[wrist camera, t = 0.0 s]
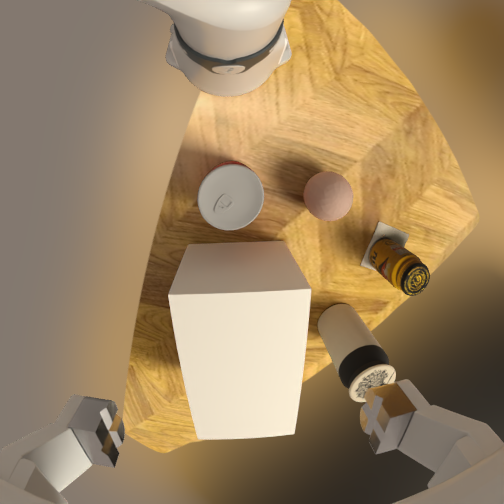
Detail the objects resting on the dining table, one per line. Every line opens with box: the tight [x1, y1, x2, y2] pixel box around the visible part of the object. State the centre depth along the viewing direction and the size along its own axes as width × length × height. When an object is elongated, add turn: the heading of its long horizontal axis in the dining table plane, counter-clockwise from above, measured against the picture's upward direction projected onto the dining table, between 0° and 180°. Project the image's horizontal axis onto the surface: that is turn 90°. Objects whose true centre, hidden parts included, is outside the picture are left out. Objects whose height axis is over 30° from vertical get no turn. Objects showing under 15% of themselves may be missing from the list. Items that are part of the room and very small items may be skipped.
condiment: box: [360, 222, 430, 296], centre depth 44 cm, size 7×8×12 cm
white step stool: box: [168, 241, 311, 439], centre depth 43 cm, size 26×15×17 cm, turn 1°
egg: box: [304, 172, 353, 221], centre depth 41 cm, size 7×7×8 cm
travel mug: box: [317, 304, 396, 402], centre depth 45 cm, size 8×8×18 cm
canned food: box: [197, 161, 264, 230], centre depth 39 cm, size 8×8×11 cm
